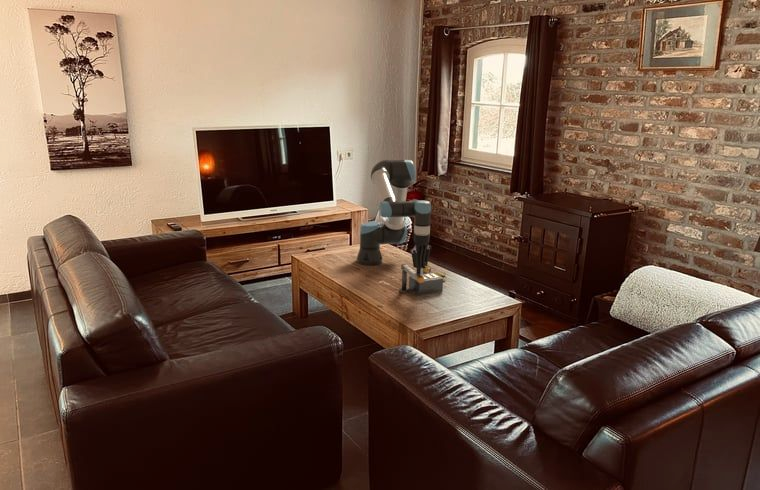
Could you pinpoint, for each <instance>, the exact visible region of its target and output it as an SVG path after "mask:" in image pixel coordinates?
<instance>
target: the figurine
mask: <svg viewBox="0 0 760 490" xmlns="http://www.w3.org/2000/svg"><path fill="white" fill-rule="evenodd" d="M429 266H430V265H429V264H427V266H425V267H426V268H424V273H423V274H427V273H432V268H431V267H429ZM433 273H434V274H436V275H438V276H440V277H446V275H447V274H442V273H440V272H437V271H436V272H433ZM445 281H446V279H445V278H443V282H445Z"/></svg>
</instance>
